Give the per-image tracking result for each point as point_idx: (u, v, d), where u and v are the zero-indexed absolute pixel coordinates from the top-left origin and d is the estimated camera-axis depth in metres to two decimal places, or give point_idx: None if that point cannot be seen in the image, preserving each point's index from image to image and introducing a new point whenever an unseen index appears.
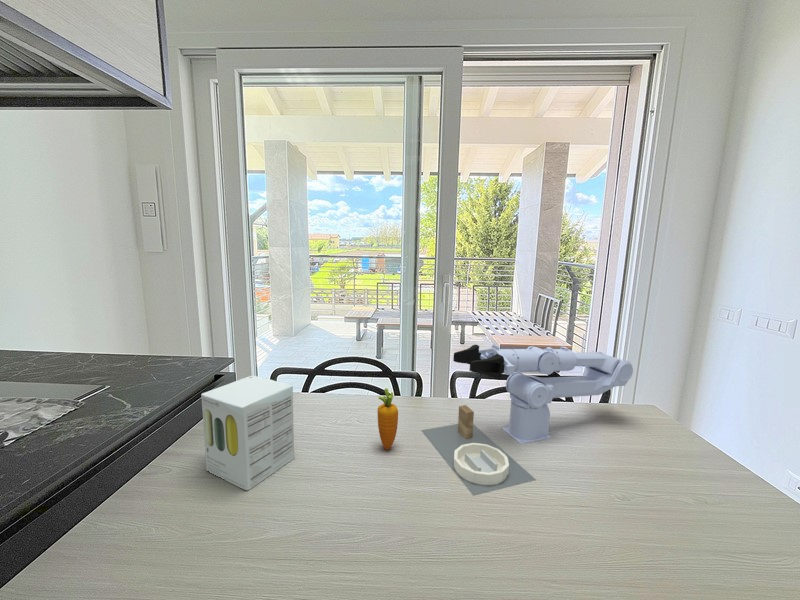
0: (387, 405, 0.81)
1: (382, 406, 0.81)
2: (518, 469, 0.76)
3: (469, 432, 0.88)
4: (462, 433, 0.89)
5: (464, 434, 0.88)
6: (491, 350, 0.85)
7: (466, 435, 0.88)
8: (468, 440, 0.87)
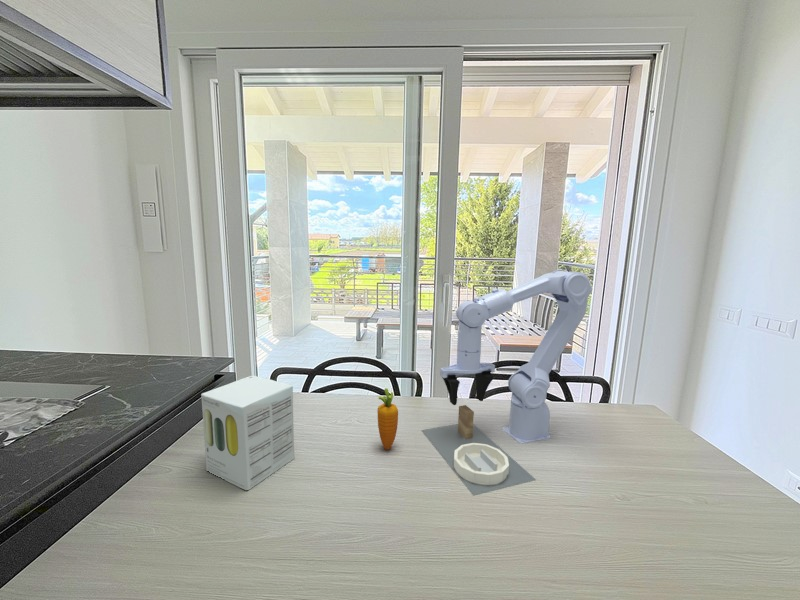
0: (387, 405, 0.81)
1: (382, 406, 0.81)
2: (518, 469, 0.76)
3: (469, 432, 0.88)
4: (462, 433, 0.89)
5: (464, 434, 0.88)
6: None
7: (466, 435, 0.88)
8: (468, 440, 0.87)
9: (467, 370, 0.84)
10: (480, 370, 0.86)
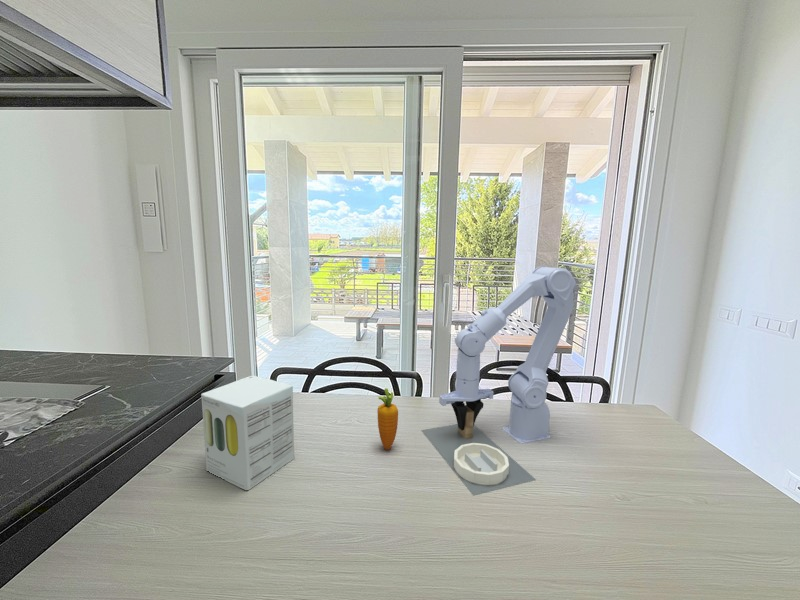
0: (387, 405, 0.81)
1: (382, 406, 0.81)
2: (518, 469, 0.76)
3: (469, 432, 0.88)
4: (462, 433, 0.89)
5: (464, 434, 0.88)
6: None
7: (466, 435, 0.88)
8: (468, 440, 0.87)
9: (466, 398, 0.85)
10: (479, 397, 0.87)
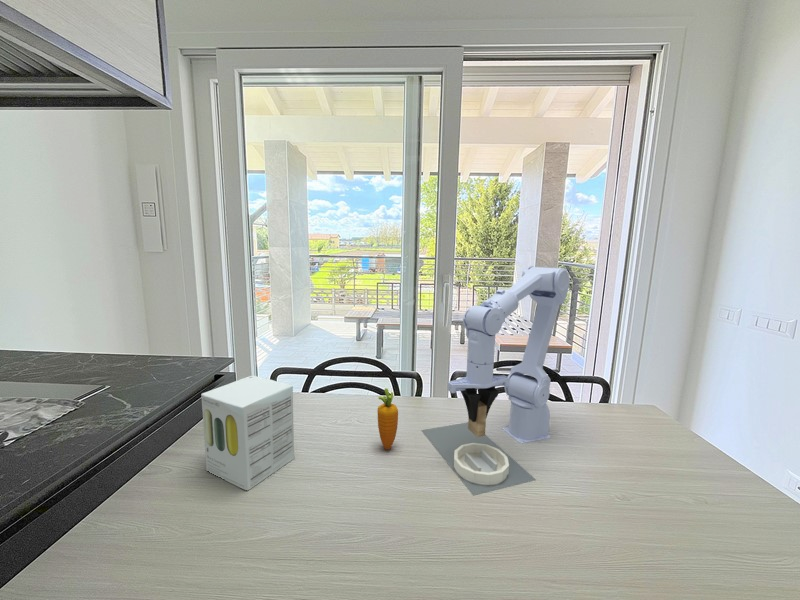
0: (387, 405, 0.81)
1: (382, 406, 0.81)
2: (518, 469, 0.76)
3: (481, 429, 0.77)
4: (473, 430, 0.78)
5: (475, 431, 0.77)
6: None
7: (478, 433, 0.76)
8: (468, 440, 0.87)
9: (478, 384, 0.74)
10: (493, 384, 0.75)
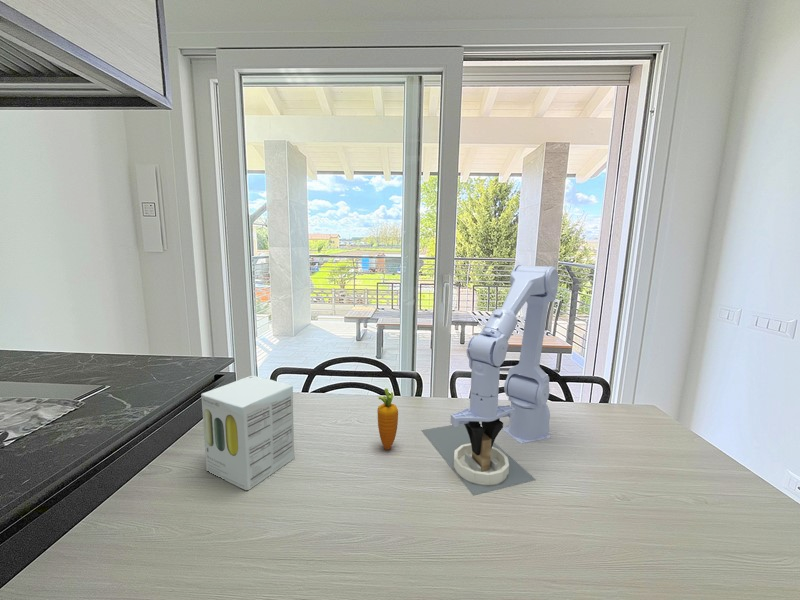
0: (387, 405, 0.81)
1: (382, 406, 0.81)
2: (518, 469, 0.76)
3: (486, 464, 0.74)
4: (478, 464, 0.75)
5: (479, 465, 0.74)
6: None
7: (482, 467, 0.73)
8: (468, 440, 0.87)
9: (483, 417, 0.71)
10: (498, 417, 0.72)
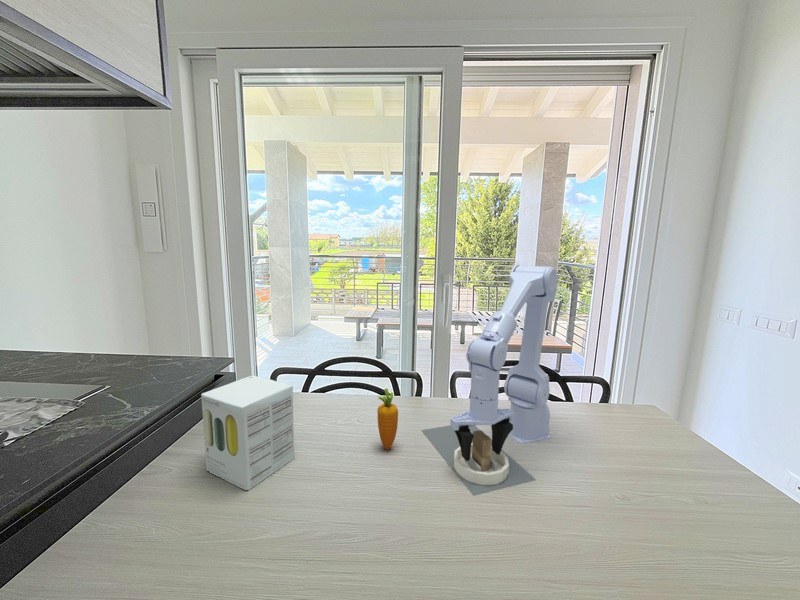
0: (387, 405, 0.81)
1: (382, 406, 0.81)
2: (518, 469, 0.76)
3: (486, 464, 0.74)
4: (478, 464, 0.75)
5: (479, 465, 0.74)
6: None
7: (482, 467, 0.73)
8: None
9: (483, 421, 0.71)
10: (498, 420, 0.72)
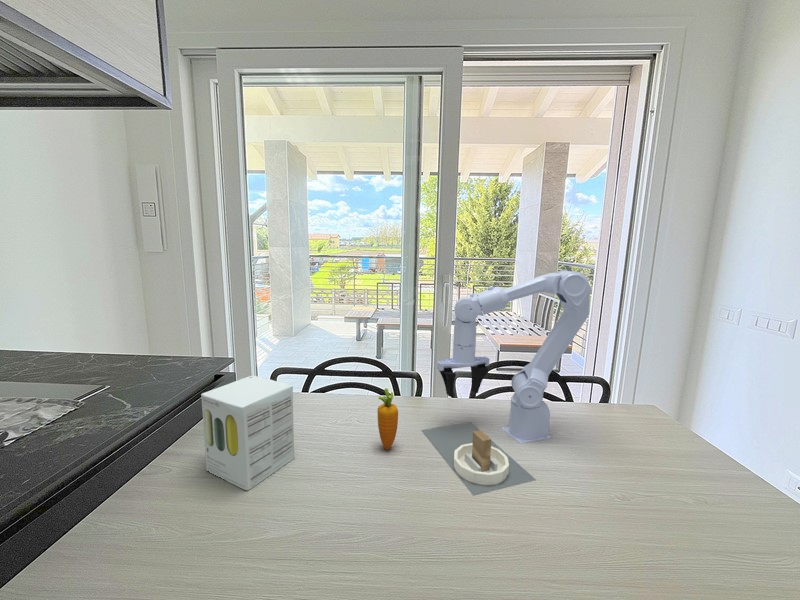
0: (387, 405, 0.81)
1: (382, 406, 0.81)
2: (518, 469, 0.76)
3: (486, 464, 0.74)
4: (478, 464, 0.75)
5: (479, 465, 0.74)
6: None
7: (482, 467, 0.73)
8: (468, 440, 0.87)
9: (463, 363, 0.88)
10: (475, 363, 0.90)
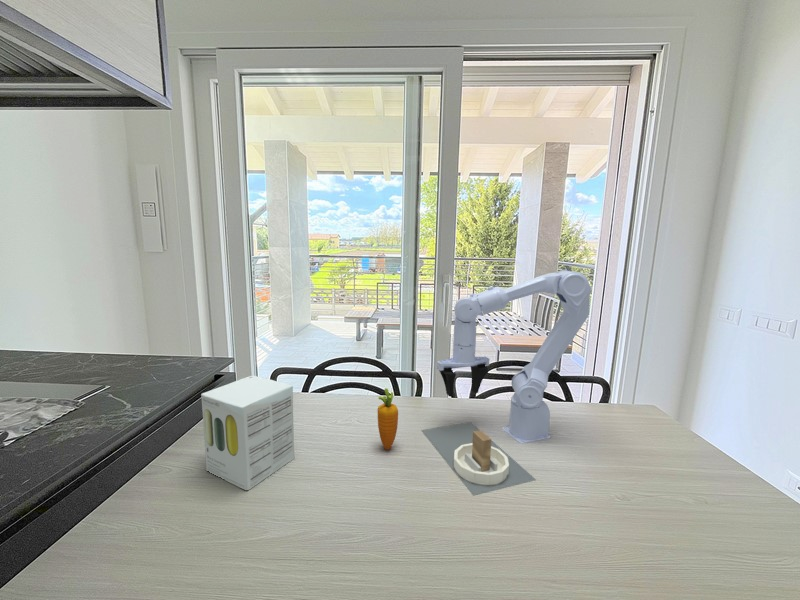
0: (387, 405, 0.81)
1: (382, 406, 0.81)
2: (518, 469, 0.76)
3: (486, 464, 0.74)
4: (478, 464, 0.75)
5: (479, 465, 0.74)
6: None
7: (482, 467, 0.73)
8: (468, 440, 0.87)
9: (462, 363, 0.88)
10: (475, 363, 0.90)
